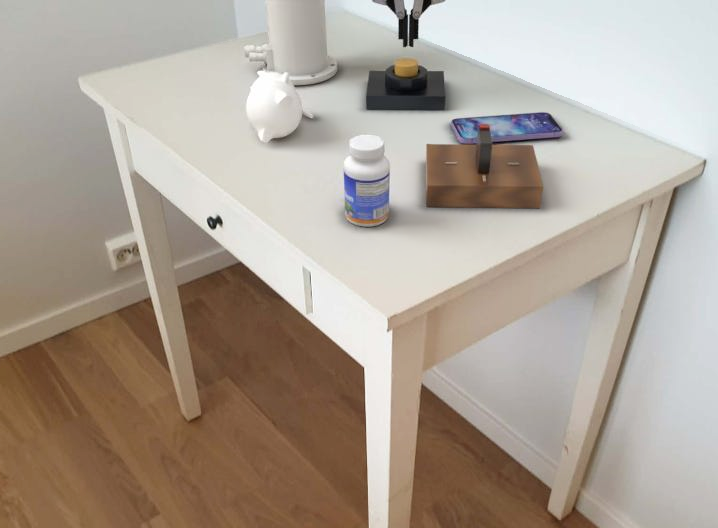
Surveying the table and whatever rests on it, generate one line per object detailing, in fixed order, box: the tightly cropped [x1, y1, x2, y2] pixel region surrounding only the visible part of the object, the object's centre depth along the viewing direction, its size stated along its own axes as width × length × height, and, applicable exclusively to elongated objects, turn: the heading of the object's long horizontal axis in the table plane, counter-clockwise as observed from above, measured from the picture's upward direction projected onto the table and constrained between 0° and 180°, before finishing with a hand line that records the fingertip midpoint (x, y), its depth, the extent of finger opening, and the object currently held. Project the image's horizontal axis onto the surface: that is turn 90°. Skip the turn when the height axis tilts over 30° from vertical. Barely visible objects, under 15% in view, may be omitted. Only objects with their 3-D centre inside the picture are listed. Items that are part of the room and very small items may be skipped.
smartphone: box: [450, 111, 564, 145], centre depth 105 cm, size 7×1×15 cm
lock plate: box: [425, 143, 544, 209], centre depth 93 cm, size 14×11×3 cm
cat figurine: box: [245, 69, 314, 144], centre depth 105 cm, size 9×11×12 cm
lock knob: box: [476, 124, 493, 173], centre depth 91 cm, size 5×1×4 cm, turn 177°
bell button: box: [394, 57, 419, 77], centre depth 112 cm, size 4×4×2 cm
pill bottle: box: [343, 134, 391, 228], centre depth 86 cm, size 5×5×10 cm
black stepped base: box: [365, 64, 446, 111], centre depth 114 cm, size 12×10×4 cm
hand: (408, 43), depth 109 cm, fingers closed
